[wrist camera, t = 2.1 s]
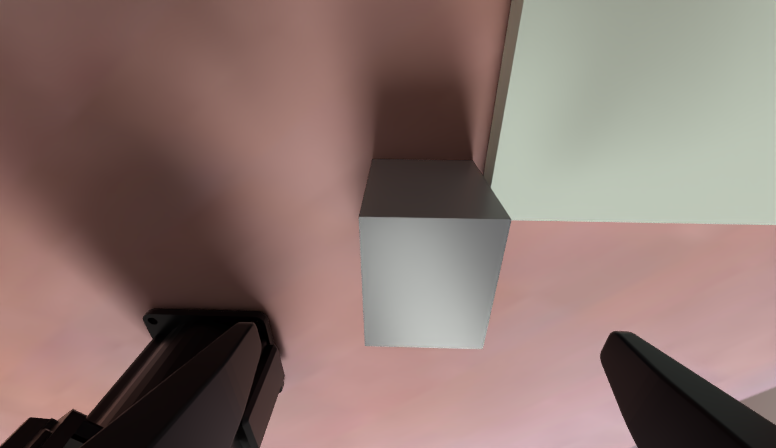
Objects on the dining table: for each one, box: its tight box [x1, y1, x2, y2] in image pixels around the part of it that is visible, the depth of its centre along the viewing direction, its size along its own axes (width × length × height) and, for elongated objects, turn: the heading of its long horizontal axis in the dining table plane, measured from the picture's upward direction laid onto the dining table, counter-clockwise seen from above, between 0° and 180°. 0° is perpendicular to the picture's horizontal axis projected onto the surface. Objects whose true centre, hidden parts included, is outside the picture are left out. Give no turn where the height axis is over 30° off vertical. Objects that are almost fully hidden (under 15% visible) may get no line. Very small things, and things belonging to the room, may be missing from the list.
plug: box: [359, 159, 511, 349], centre depth 12 cm, size 4×5×5 cm
